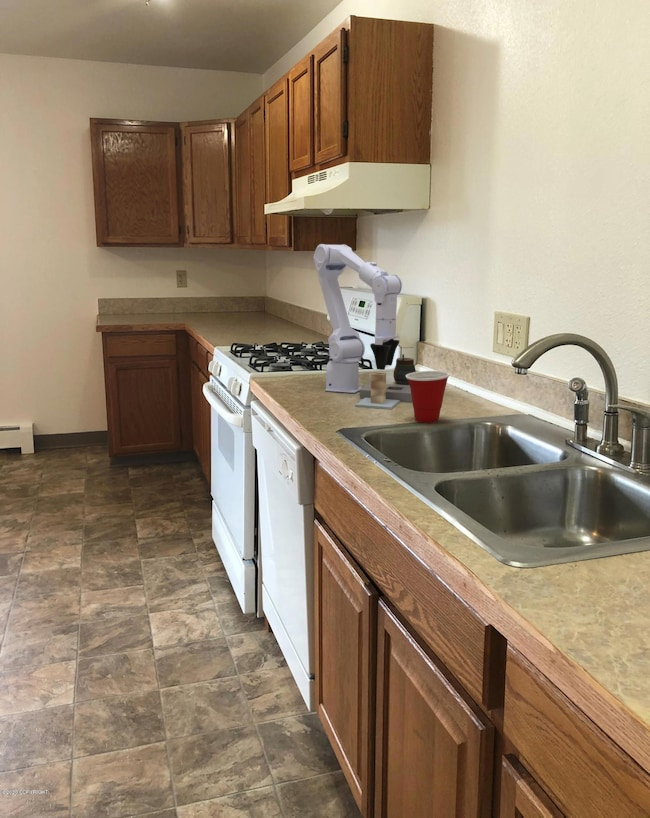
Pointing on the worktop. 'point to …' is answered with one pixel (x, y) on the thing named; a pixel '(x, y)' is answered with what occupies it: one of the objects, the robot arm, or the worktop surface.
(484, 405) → the worktop surface
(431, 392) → the plastic cup
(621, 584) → the worktop surface
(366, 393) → the grey flat plate
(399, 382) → the mate gourd
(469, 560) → the worktop surface
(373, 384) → the plug
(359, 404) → the mat
